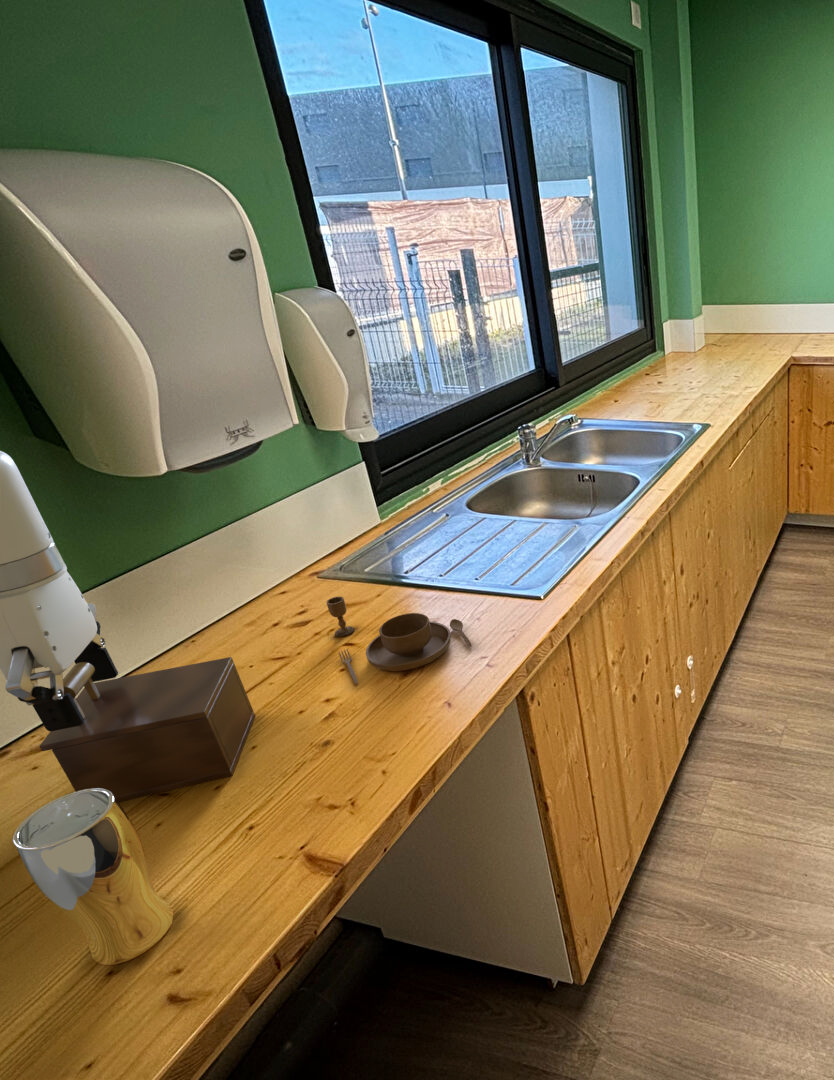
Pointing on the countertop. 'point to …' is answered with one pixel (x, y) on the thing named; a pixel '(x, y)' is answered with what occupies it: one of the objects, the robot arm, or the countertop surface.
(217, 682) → the lid
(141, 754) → the chest
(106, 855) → the beer glass
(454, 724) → the countertop surface
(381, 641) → the place setting
